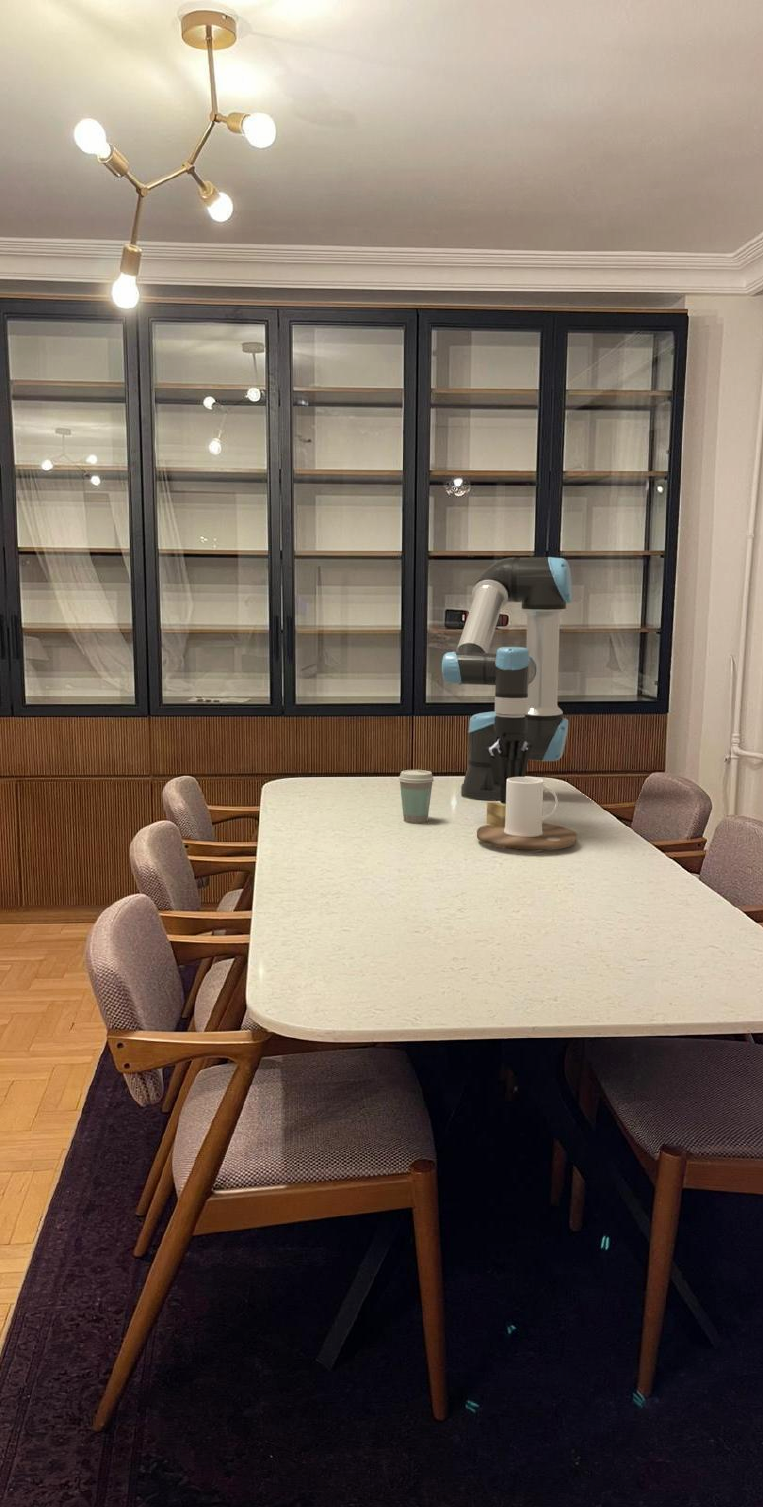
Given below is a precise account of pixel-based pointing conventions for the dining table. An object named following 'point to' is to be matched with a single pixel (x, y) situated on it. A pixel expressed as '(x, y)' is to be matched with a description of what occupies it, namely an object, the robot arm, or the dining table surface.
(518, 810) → the mug
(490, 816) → the turntable
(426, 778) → the coffee cup
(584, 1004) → the dining table surface
